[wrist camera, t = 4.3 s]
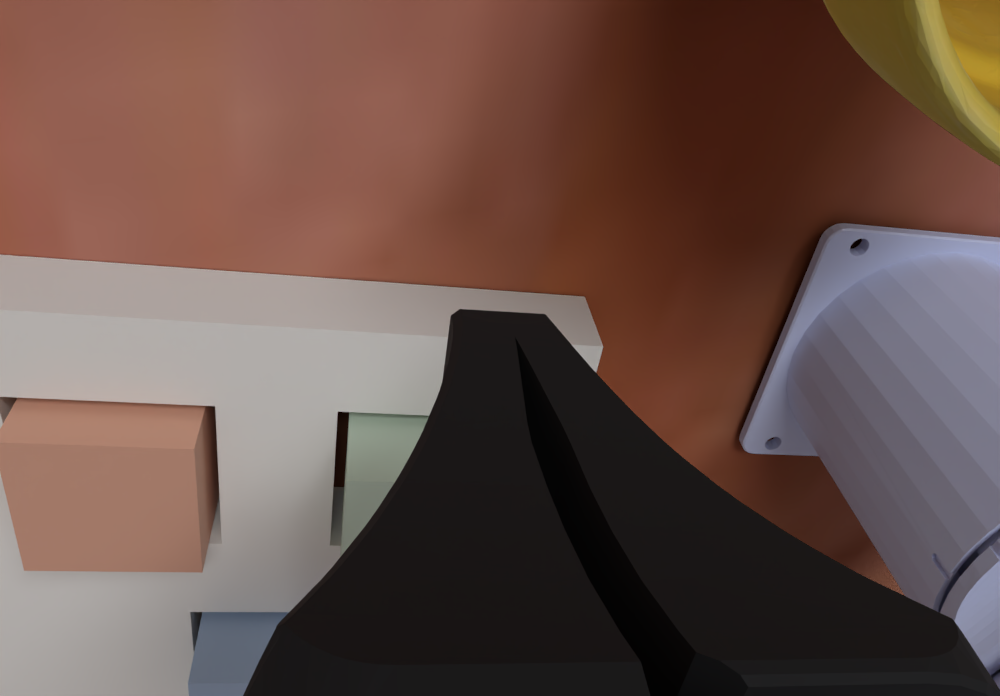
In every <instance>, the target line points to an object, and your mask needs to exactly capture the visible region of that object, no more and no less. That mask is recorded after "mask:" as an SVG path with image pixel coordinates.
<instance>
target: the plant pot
mask: <svg viewBox="0 0 1000 696" xmlns="http://www.w3.org/2000/svg"><path fill="white" fill-rule="evenodd" d="M823 2H824V4H825V6H826V8H827V10H828V12H829V13H830V15H831V17H832V18H833V20H834V22H835V23H836V25H837V27H838V28H839V30H840V32H841V33H842V35H843V36H844V37H845V39H846V40H847V41H848V42H849V44H850V45H851V46H852V47H853V49H854V50H855V51H856V52H857V53H858V54H859V56H860V57H861V58H862V59H863V60H864V61H865V62H866V63H867V64H868V65H869V66H870V67H871V68H872V69H873V70H874V71H875V72H876V73H877V74H878V75H879V76H880V77H881V78H882V79H883V80H885V81H886V82H887V83H888V84H889V85H890V86H892V87H893V88H894V89H895V90H896V91H897V92H899V93H900V94H901V95H902V96H903V97H904V98H906V99H907V100H908V101H909V102H911V103H912V104H913V105H914V106H916V107H917V108H918V109H919V110H921V111H922V112H923V113H924V114H925V115H927V116H928V117H929V118H930V119H932V120H933V121H934V122H936V123H937V124H938V125H940V126H941V127H942V128H944V129H945V130H947V131H948V132H949V133H951V134H952V135H954V136H955V137H956V138H958V139H959V140H961V141H962V142H963V143H965V144H966V145H968V146H969V147H971V148H972V149H974V150H975V151H977V152H978V153H980V154H981V155H983V156H984V157H986V158H987V159H989V160H991V161H992V162H994V163H996V164H997V165H999V166H1000V0H823Z"/></svg>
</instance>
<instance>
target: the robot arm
mask: <svg viewBox="0 0 1000 696" xmlns="http://www.w3.org/2000/svg"><path fill="white" fill-rule="evenodd" d="M858 239H862V242H861V243H860V244H859V245H858V246H857V247H855V248H852V249H850V247H851V245H852V244H853V242H855V241H856V240H858ZM773 437H775V438H774V439H772V440H771V441H767V440H769V439H770V438H773ZM739 441H740V443H741V445H742V447H743V449H744V450H745V451H746V452H748V453H752V454H774V455H800V456H819V457H820V459H821V461H822V462H823V464H824V465H825V467H826V469H827V470H828V472H829V474H830V475H831V477H832V478H833V480H834V482H835V483H836V485H837V486H838V488H839V490H840V491H841V493H842V495H843V496H844V498H845V499H846V501H847V503H848V504H849V506H850V508H851V509H852V511H853V512H854V514H855V516H856V517H857V519H858V520H859V522H860V524H861V525H862V527H863V529H864V530H865V532H866V533H867V535H868V537H869V538H870V540H871V542H872V543H873V545H874V546H875V548H876V550H877V551H878V553H879V554H880V556H881V558H882V559H883V561H884V563H885V564H886V566H887V567H888V569H889V571H890V572H891V574H892V576H893V577H894V579H895V580H896V582H897V584H898V585H899V587H900V589H901V590H902V592H903V593H904V595H905V596H904V595H901V594H899V593H897V592H895V591H893V590H891V589H889V588H887V587H885V586H883V585H880V584H878V583H876V582H874V581H872V580H870V579H868V578H866V577H864V576H862V575H860V574H858V573H856V572H855V571H853V570H851V569H849V568H847V567H846V566H844V565H842V564H840V563H838V562H837V561H835V560H833V559H831V558H829V557H828V556H826V555H824V554H822V553H820V552H819V551H817V550H815V549H813V548H812V547H810V546H808V545H807V544H805V543H803V542H802V541H800V540H798V539H797V538H795V537H793V536H792V535H790V534H788V533H787V532H785V531H783V530H782V529H780V528H779V527H777V526H776V525H774V524H773V523H771V522H770V521H768V520H767V519H765V518H764V517H762V516H761V515H759V514H758V513H756V512H755V511H753V510H752V509H750V508H749V507H747V506H746V505H744V504H743V503H741V502H740V501H738V500H737V499H736V498H734V497H733V496H731V495H730V494H729V493H727V492H726V491H725V490H723V489H722V488H720V487H719V486H718V485H716V484H715V483H714V482H713V481H711V480H710V479H709V478H708V477H706V476H705V475H704V474H703V473H701V472H700V471H699V470H698V469H696V468H695V467H694V466H693V465H691V464H690V463H689V462H688V461H686V460H685V459H684V458H682V457H681V456H680V455H679V454H678V453H677V452H676V451H674V450H673V449H672V448H671V447H670V446H669V445H667V444H666V443H665V442H664V441H663V440H662V439H661V438H660V437H659V436H658V435H657V434H656V433H655V432H653V431H652V430H651V429H650V428H649V427H648V426H647V425H646V424H645V423H644V422H643V421H642V420H641V419H640V418H639V417H638V416H636V414H635V413H634V412H633V411H632V410H631V409H630V408H629V407H628V406H627V405H626V404H625V403H624V402H623V401H622V400H621V399H620V398H619V397H618V396H617V395H616V394H615V393H614V392H613V391H612V390H611V389H610V388H609V387H608V385H607V384H606V383H605V382H604V381H603V380H602V379H601V378H600V377H599V376H598V375H597V373H596V372H595V371H594V370H593V369H592V368H591V367H590V366H589V364H588V363H587V362H586V361H585V360H584V359H583V357H582V356H581V355H580V354H579V353H578V352H577V351H576V349H575V348H574V347H573V346H572V345H571V344H570V342H569V341H568V340H567V339H566V338H565V336H564V335H563V334H562V333H561V332H560V330H559V329H558V328H557V327H556V326H555V325H554V323H553V322H552V321H551V320H550V319H549V318H548V317H547V315H546V314H537V313H520V312H503V311H486V310H468V309H459V310H458V311H456V312H455V313H454V314H452V315H451V317H450V325H449V333H448V341H447V349H446V357H445V364H444V372H443V380H442V384H441V387H440V391H439V393H438V396H437V399H436V401H435V403H434V406H433V408H432V410H431V413H430V415H429V417H428V420H427V422H426V424H425V427H424V429H423V431H422V433H421V436H420V438H419V440H418V442H417V444H416V446H415V448H414V449H413V451H412V453H411V455H410V457H409V459H408V461H407V462H406V464H405V466H404V468H403V469H402V471H401V473H400V475H399V476H398V478H397V480H396V481H395V483H394V484H393V486H392V487H391V489H390V490H389V492H388V494H387V495H386V497H385V498H384V500H383V501H382V503H381V504H380V506H379V507H378V509H377V510H376V512H375V513H374V515H373V516H372V517H371V519H370V520H369V522H368V523H367V524H366V526H365V527H364V528H363V529H362V531H361V532H360V533H359V534H358V536H357V537H356V538H355V539H354V541H353V542H352V543H351V544H350V546H349V547H348V548H347V549H346V551H345V552H344V553H343V554H342V556H341V557H340V558H339V559H338V561H337V562H336V563H335V564H334V566H333V567H332V568H331V569H330V570H329V571H328V572H327V573H326V575H325V576H324V577H323V578H322V579H321V580H320V581H319V582H318V583H317V584H316V585H315V586H314V587H313V588H312V589H311V590H310V591H309V592H308V593H307V594H306V596H305V597H304V598H303V599H302V600H301V601H300V602H299V603H298V604H297V605H296V606H295V607H294V608H293V609H292V610H291V611H290V612H289V613H288V614H287V615H286V616H285V617H284V618H283V619H282V620H281V621H280V622H279V623H278V624H277V626H276V629H275V631H274V633H273V635H272V637H271V638H270V640H269V642H268V644H267V646H266V648H265V650H264V652H263V654H262V656H261V658H260V660H259V662H258V664H257V667H256V669H255V671H254V673H253V675H252V677H251V679H250V682H249V684H248V686H247V688H246V690H245V693H244V695H243V696H1000V238H999V237H988V236H977V235H967V234H956V233H945V232H934V231H924V230H913V229H902V228H892V227H881V226H870V225H859V224H849V223H839V224H835V225H833V226H831V227H829V228H828V229H827V230H826V231H824V233H823V234H822V236H821V238H820V240H819V242H818V245H817V247H816V249H815V252H814V254H813V257H812V259H811V262H810V264H809V267H808V269H807V271H806V274H805V276H804V279H803V281H802V284H801V286H800V289H799V291H798V294H797V296H796V298H795V301H794V303H793V306H792V308H791V311H790V313H789V316H788V318H787V321H786V323H785V325H784V328H783V330H782V333H781V335H780V338H779V340H778V343H777V345H776V347H775V350H774V352H773V355H772V357H771V360H770V362H769V365H768V367H767V370H766V372H765V374H764V377H763V379H762V382H761V384H760V387H759V389H758V392H757V394H756V396H755V399H754V401H753V404H752V406H751V409H750V411H749V414H748V416H747V419H746V421H745V423H744V426H743V428H742V431H741V433H740V437H739Z"/></svg>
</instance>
